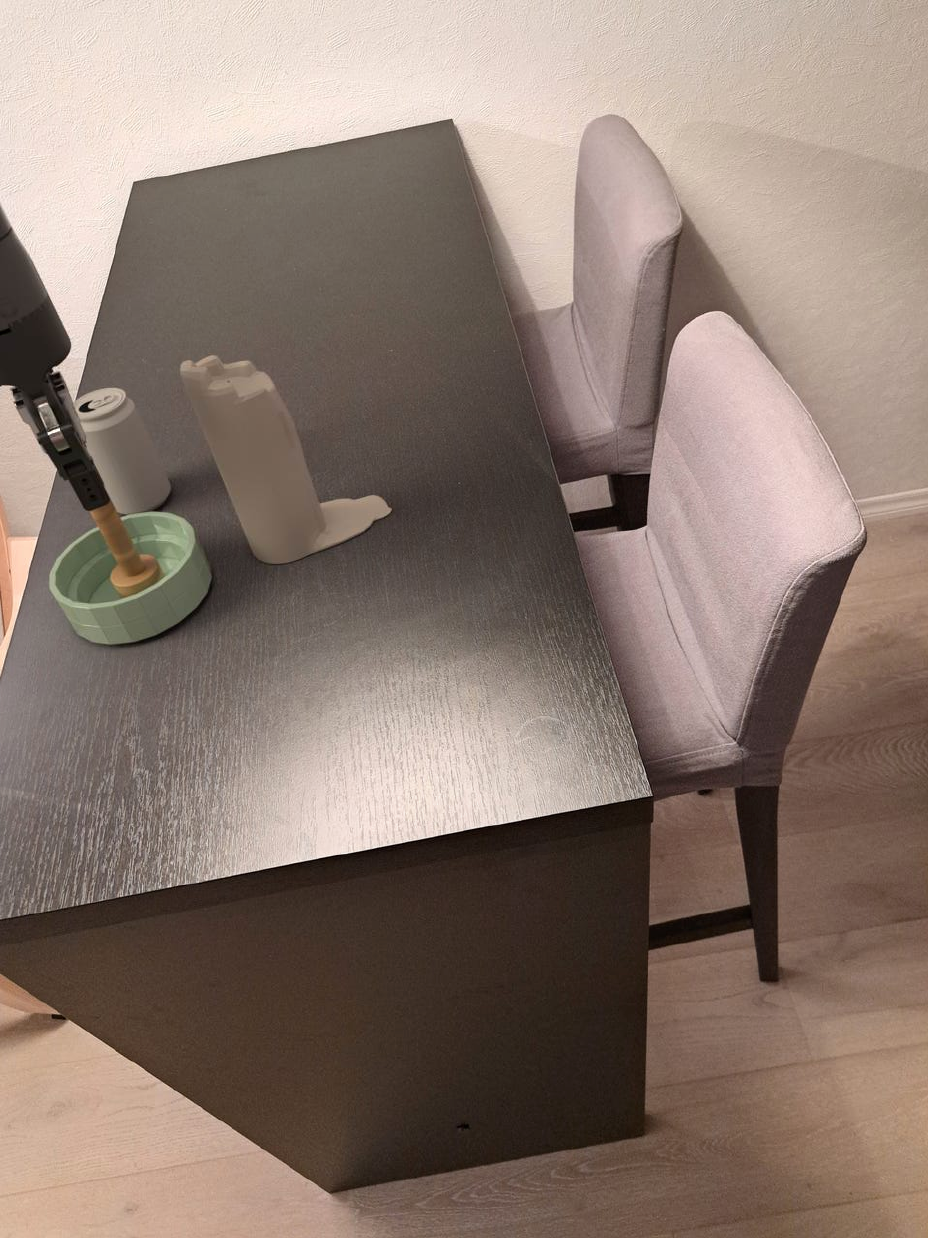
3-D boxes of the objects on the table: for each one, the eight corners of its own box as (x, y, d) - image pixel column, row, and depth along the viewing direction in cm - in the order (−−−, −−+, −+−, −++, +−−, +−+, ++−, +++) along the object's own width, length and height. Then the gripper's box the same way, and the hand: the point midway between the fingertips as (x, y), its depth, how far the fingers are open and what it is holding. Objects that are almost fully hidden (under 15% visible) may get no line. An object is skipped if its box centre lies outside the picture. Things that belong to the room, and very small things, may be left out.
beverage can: (110, 497, 101) (60, 399, 93) (167, 476, 103) (123, 377, 95) (119, 527, 97) (67, 427, 89) (179, 504, 98) (133, 404, 90)
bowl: (166, 657, 81) (144, 615, 78) (45, 640, 85) (18, 599, 82) (238, 558, 90) (220, 516, 86) (124, 547, 94) (103, 507, 91)
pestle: (149, 604, 84) (76, 465, 74) (109, 600, 86) (32, 462, 76) (175, 572, 87) (107, 433, 77) (135, 568, 89) (64, 431, 78)
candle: (399, 521, 90) (348, 325, 76) (261, 574, 87) (183, 382, 74) (375, 484, 95) (323, 295, 81) (244, 533, 92) (168, 347, 79)
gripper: (-64, 291, 72) (41, 478, 84) (-53, 357, 62) (64, 558, 74) (33, 259, 74) (123, 446, 85) (58, 319, 64) (155, 521, 76)
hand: (95, 497), depth 80 cm, fingers closed on pestle, 2 cm apart
